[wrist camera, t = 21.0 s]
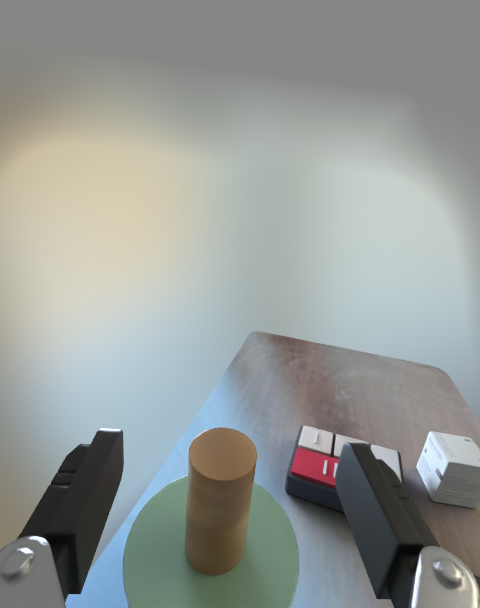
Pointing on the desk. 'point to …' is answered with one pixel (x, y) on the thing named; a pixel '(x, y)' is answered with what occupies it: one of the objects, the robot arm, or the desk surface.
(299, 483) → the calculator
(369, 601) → the desk surface
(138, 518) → the pot
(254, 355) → the desk surface
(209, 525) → the tall wooden cylinder
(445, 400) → the desk surface
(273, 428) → the desk surface
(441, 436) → the white cardboard box
